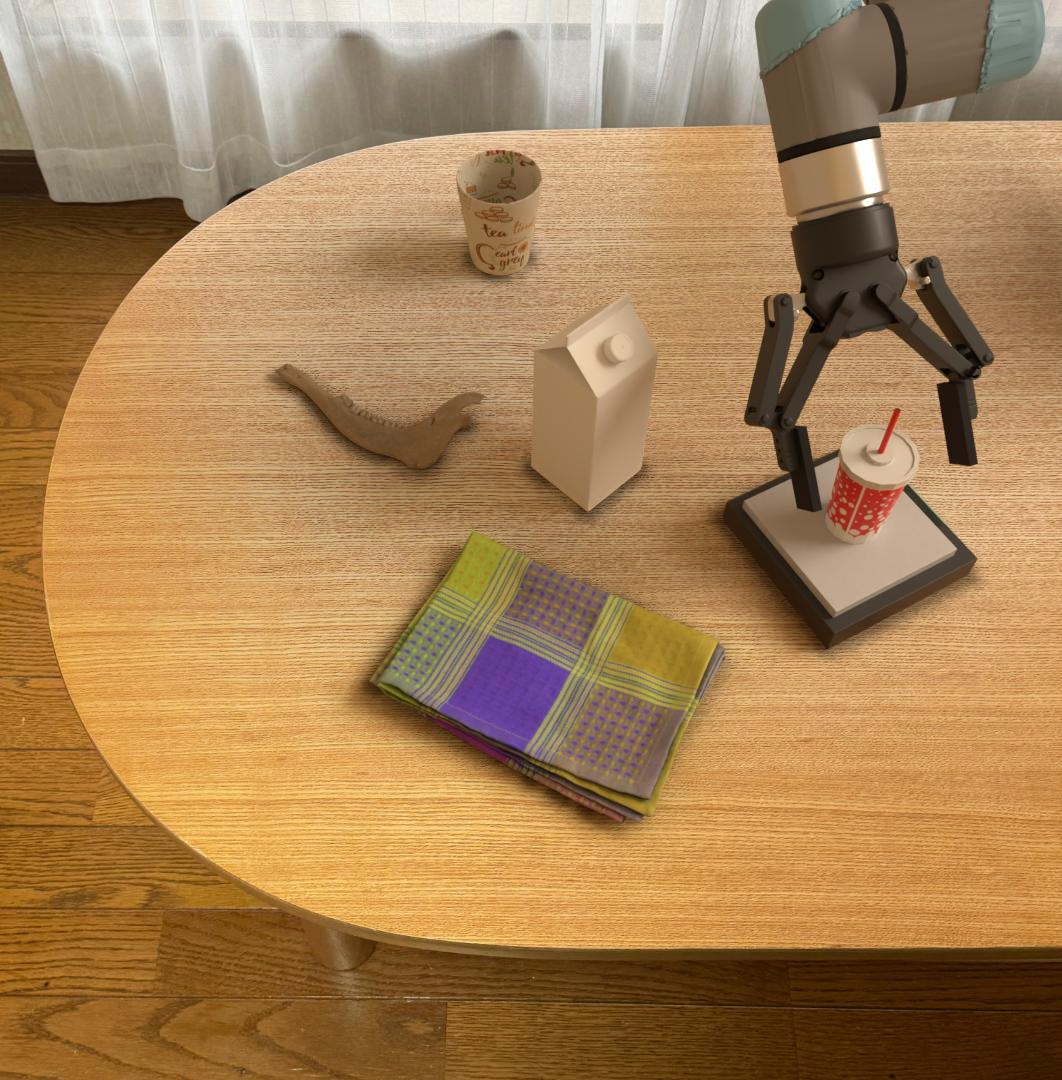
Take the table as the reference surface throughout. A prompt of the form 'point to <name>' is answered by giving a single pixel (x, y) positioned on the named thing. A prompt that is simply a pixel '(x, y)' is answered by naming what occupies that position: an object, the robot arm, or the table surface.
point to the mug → (499, 208)
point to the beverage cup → (869, 479)
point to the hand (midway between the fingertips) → (887, 486)
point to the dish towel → (553, 677)
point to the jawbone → (389, 423)
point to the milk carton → (593, 402)
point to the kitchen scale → (846, 555)
